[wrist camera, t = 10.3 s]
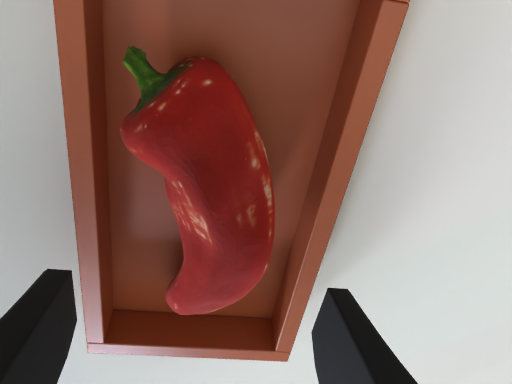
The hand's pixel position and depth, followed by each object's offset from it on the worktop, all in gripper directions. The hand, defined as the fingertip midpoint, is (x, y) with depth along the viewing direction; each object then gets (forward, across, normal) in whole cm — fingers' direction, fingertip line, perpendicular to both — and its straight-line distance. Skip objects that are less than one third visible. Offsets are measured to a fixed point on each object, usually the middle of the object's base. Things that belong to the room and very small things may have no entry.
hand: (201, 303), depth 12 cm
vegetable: (+6, 0, 0) cm, 6 cm away
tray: (+6, 0, 0) cm, 7 cm away
